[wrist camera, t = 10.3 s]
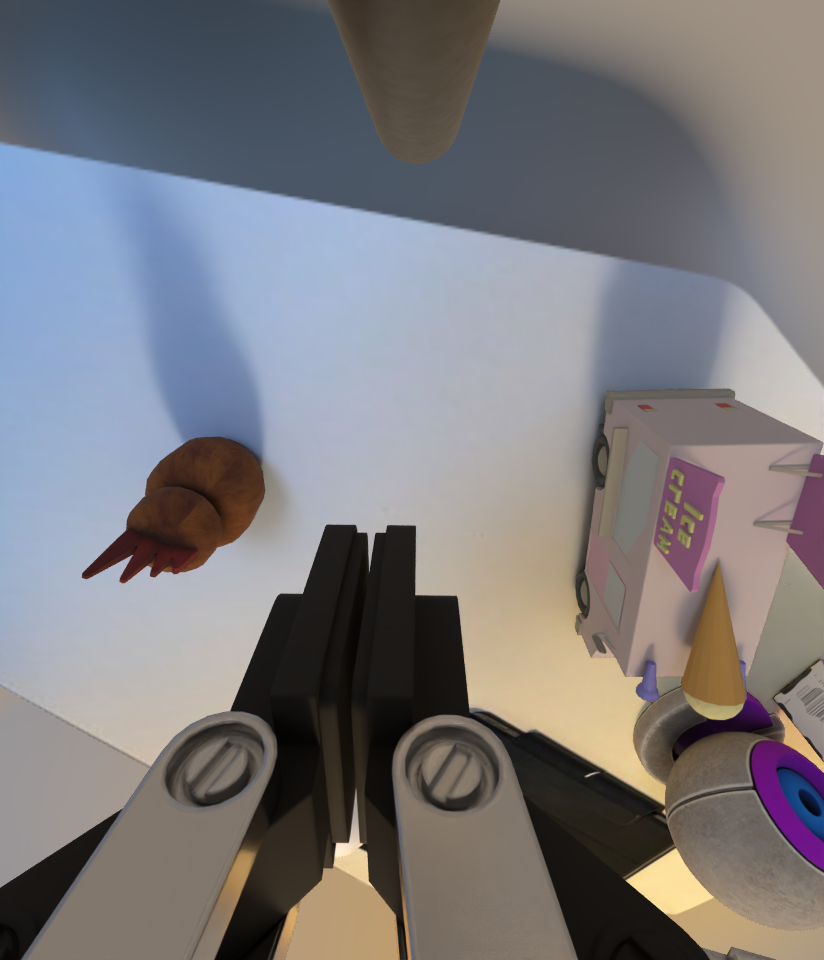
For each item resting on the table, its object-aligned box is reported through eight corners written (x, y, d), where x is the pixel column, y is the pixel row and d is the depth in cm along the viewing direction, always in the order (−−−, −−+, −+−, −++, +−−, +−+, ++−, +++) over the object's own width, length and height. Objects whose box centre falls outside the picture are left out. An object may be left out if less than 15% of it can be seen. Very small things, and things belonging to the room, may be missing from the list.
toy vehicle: (559, 613, 43) (623, 782, 29) (586, 383, 35) (691, 470, 21) (671, 612, 43) (787, 782, 29) (723, 380, 35) (918, 466, 21)
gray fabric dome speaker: (803, 707, 47) (959, 895, 33) (717, 791, 52) (822, 984, 38) (684, 663, 45) (798, 843, 32) (606, 754, 50) (675, 944, 36)
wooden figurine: (170, 463, 38) (29, 585, 24) (214, 409, 36) (88, 507, 23) (245, 519, 40) (153, 660, 26) (290, 469, 38) (217, 594, 24)
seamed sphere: (298, 788, 53) (280, 866, 46) (316, 740, 50) (300, 817, 43) (390, 810, 54) (386, 889, 47) (413, 764, 51) (412, 842, 44)
